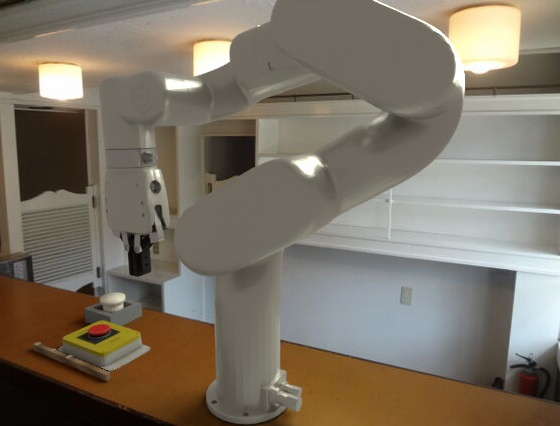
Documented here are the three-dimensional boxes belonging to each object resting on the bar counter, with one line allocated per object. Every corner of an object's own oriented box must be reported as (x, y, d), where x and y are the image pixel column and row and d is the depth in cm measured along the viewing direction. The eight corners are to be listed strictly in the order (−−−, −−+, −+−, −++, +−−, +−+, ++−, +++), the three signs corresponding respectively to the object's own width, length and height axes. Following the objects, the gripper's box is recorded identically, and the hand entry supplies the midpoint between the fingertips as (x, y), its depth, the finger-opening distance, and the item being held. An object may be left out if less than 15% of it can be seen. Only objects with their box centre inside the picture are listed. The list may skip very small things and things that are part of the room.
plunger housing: (142, 316, 95) (141, 303, 94) (111, 331, 88) (110, 316, 88) (116, 308, 99) (115, 296, 98) (85, 322, 92) (84, 308, 92)
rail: (111, 379, 72) (110, 371, 71) (106, 381, 71) (106, 373, 70) (37, 348, 81) (36, 341, 81) (32, 350, 81) (32, 343, 80)
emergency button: (97, 311, 88) (151, 329, 81) (98, 332, 89) (152, 351, 82) (53, 330, 80) (109, 351, 73) (55, 352, 81) (111, 375, 74)
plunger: (131, 312, 94) (130, 295, 93) (112, 320, 90) (110, 303, 89) (115, 307, 97) (114, 290, 96) (95, 315, 92) (94, 298, 92)
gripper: (184, 159, 68) (191, 274, 71) (118, 158, 75) (127, 261, 79) (147, 163, 61) (156, 288, 65) (79, 161, 69) (90, 273, 72)
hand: (140, 273), depth 72 cm, fingers closed
